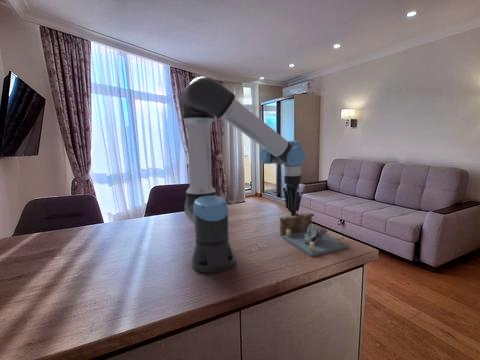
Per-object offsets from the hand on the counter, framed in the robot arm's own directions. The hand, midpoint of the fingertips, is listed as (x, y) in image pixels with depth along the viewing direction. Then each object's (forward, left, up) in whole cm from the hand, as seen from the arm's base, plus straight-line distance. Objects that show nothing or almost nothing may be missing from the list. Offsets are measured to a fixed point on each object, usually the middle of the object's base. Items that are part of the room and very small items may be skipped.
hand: (292, 224), depth 118 cm
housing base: (0, -16, -3) cm, 16 cm away
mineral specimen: (0, -17, -2) cm, 17 cm away
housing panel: (0, -3, -3) cm, 5 cm away
